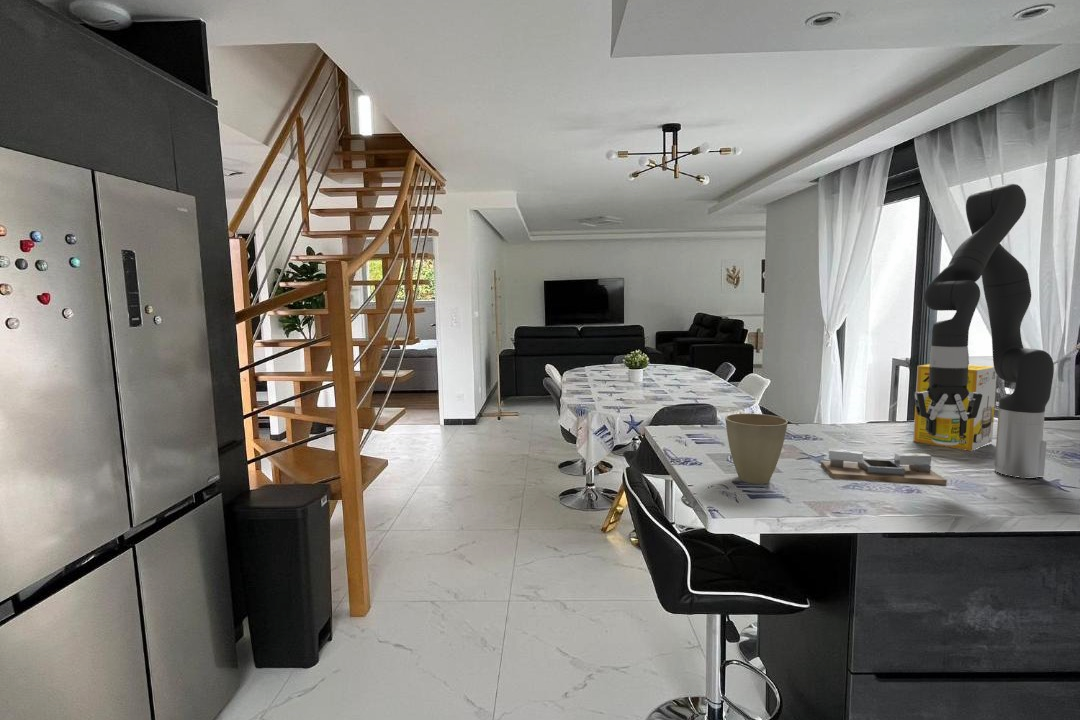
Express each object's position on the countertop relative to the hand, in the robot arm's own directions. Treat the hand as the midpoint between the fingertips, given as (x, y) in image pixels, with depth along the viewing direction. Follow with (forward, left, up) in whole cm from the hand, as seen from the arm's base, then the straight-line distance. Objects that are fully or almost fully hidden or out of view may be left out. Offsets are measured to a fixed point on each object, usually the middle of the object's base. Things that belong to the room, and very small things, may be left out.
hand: (945, 434), depth 137 cm
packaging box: (-25, -54, -14) cm, 61 cm away
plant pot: (+43, +2, -14) cm, 46 cm away
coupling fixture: (+10, -10, -12) cm, 19 cm away
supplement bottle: (0, 0, -2) cm, 2 cm away
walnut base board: (+10, -10, -13) cm, 20 cm away
